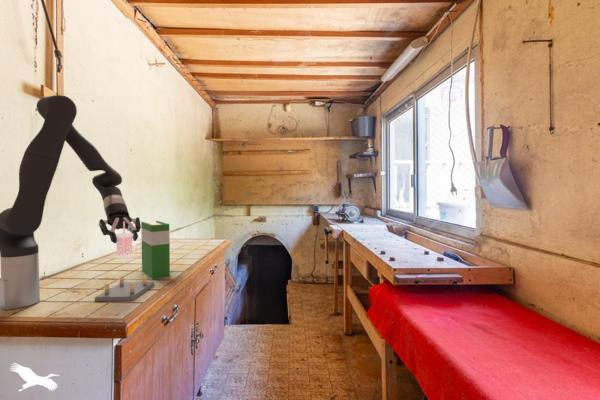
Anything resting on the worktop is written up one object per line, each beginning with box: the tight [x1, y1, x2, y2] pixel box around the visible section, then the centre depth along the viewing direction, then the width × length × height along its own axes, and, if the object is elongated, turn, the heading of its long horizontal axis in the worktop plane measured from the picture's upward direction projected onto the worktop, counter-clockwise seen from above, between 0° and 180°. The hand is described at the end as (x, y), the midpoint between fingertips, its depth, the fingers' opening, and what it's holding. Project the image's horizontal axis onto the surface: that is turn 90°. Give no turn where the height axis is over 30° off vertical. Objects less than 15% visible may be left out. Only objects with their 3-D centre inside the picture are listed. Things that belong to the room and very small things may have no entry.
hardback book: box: [140, 220, 171, 280], centre depth 131 cm, size 18×7×24 cm, turn 43°
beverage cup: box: [115, 221, 133, 260], centre depth 107 cm, size 6×6×14 cm
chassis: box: [94, 275, 155, 302], centre depth 106 cm, size 16×13×5 cm
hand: (125, 240), depth 106 cm, fingers closed on beverage cup, 6 cm apart
